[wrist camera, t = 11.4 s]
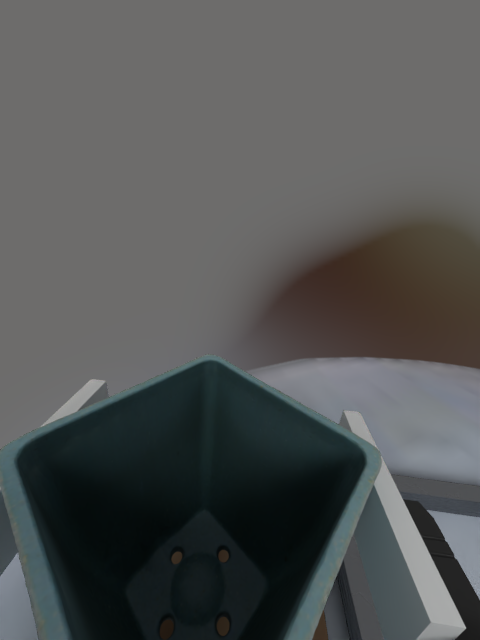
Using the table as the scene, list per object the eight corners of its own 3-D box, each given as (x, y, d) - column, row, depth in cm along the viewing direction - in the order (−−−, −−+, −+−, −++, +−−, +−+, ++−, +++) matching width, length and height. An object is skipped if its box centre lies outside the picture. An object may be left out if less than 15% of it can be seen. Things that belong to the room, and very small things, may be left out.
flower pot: (206, 462, 17) (211, 348, 13) (329, 582, 12) (388, 448, 8) (54, 593, 11) (-12, 446, 7) (172, 972, 6) (144, 1101, 2)
